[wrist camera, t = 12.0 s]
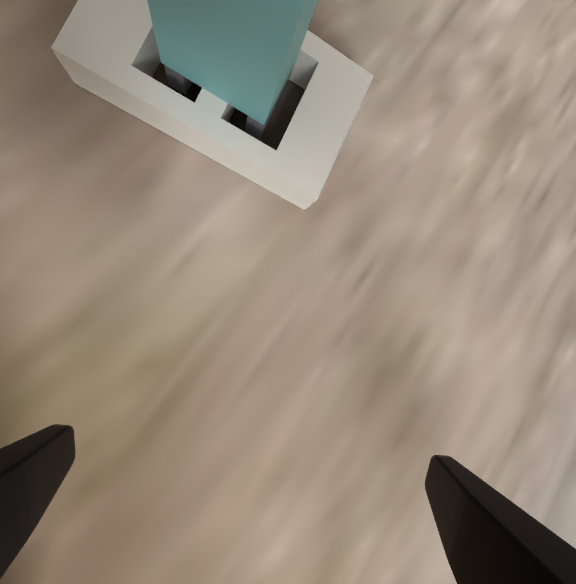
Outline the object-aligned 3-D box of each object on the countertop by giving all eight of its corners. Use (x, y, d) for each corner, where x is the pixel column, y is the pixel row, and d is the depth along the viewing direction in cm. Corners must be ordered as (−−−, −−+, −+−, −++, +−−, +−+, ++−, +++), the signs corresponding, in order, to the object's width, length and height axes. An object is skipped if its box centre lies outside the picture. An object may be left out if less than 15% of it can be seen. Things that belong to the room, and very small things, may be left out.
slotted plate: (304, 210, 20) (317, 199, 17) (74, 83, 17) (50, 47, 14) (354, 101, 20) (373, 76, 18) (142, -40, 17) (131, -94, 15)
